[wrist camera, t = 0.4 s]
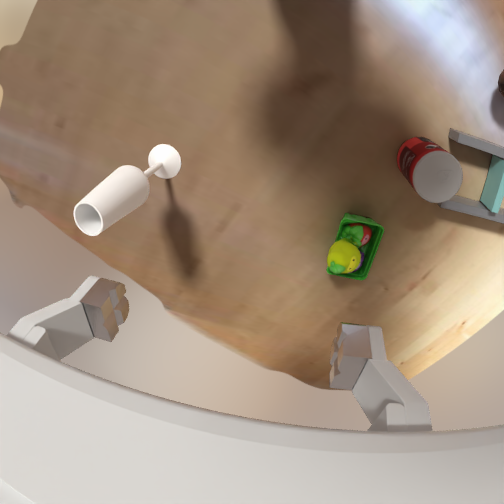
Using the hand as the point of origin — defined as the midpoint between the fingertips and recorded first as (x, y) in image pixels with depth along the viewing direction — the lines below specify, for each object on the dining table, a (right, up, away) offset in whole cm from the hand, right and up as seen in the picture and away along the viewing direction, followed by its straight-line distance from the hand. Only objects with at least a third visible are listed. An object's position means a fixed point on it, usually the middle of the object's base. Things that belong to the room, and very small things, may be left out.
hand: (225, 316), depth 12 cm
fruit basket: (+19, +5, +46) cm, 50 cm away
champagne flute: (-15, +19, +45) cm, 51 cm away
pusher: (+44, +16, +34) cm, 58 cm away
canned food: (+29, +18, +36) cm, 50 cm away
